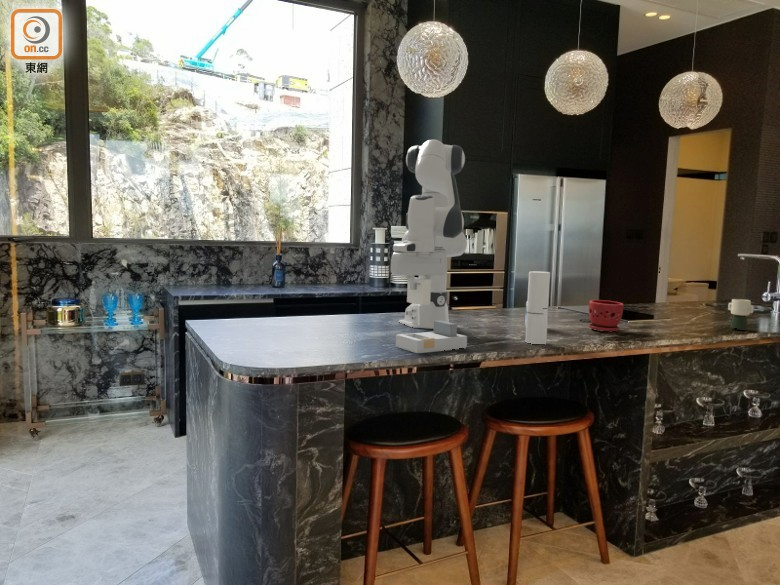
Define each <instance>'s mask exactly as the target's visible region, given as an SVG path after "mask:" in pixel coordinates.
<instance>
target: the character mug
mask: <svg viewBox="0 0 780 585" xmlns="http://www.w3.org/2000/svg"><path fill="white" fill-rule="evenodd" d="M727 307H728V308H727V310H728V311H730V314H731V315H733V317H732V320H731V323H730V328H731V327H732V328H737V329H736V330H741V329H743V330H748V318H747V316H749V315H750V314H753V313H754V305H752V302H751V300H749V299H743V298H742V299H741V298H731V302H728V305H727ZM732 328H731V329H732Z"/></svg>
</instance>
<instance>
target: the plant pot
mask: <svg viewBox="0 0 780 585" xmlns="http://www.w3.org/2000/svg"><path fill="white" fill-rule="evenodd" d="M623 313H624V303H623V302H618V301H614V300H613V301H612V300H604V299H603V300H602V299H591V300H589V302H588V314H589V315H588V316H589V317H588V318H589V320H590V323H589V324H588V328H592V329H596V330H603V331H616V332H617V330H618V331H619V329H620V327H619V324H620V323H621V321H622V317H623ZM612 314H613V315H612ZM592 329H591V330H592Z"/></svg>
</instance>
